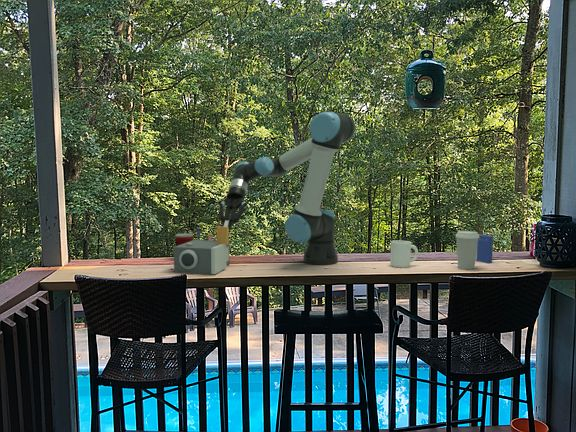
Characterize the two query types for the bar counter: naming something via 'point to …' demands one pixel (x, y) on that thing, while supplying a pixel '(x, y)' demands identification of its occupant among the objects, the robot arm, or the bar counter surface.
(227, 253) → the camera housing
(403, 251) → the mug
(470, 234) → the coffee cup
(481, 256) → the walkman
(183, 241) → the canned food
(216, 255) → the door
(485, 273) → the bar counter surface
